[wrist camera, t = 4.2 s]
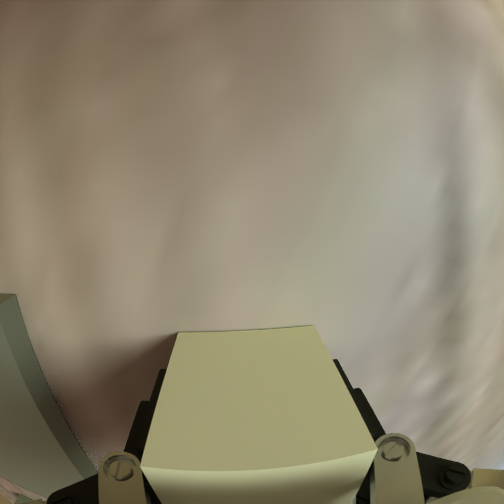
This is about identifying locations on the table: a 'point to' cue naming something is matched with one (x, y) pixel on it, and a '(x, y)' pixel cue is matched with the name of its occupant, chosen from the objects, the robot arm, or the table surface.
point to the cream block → (255, 422)
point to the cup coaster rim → (22, 499)
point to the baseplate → (32, 416)
